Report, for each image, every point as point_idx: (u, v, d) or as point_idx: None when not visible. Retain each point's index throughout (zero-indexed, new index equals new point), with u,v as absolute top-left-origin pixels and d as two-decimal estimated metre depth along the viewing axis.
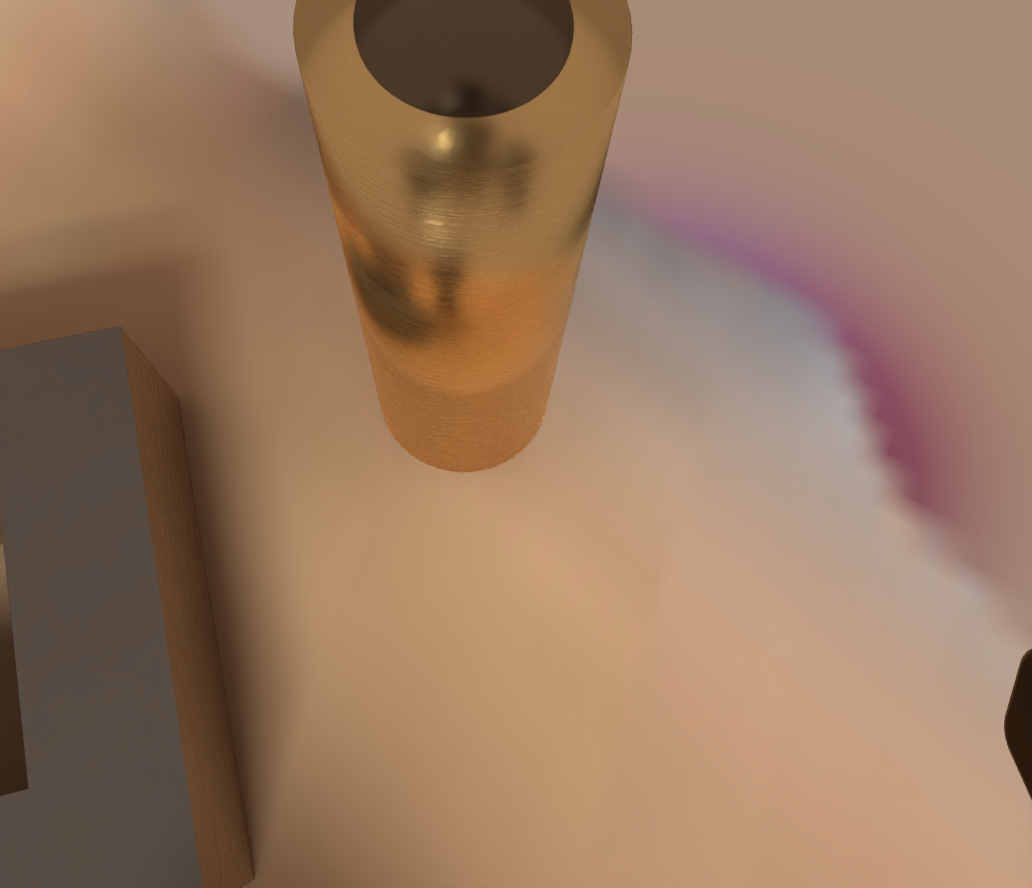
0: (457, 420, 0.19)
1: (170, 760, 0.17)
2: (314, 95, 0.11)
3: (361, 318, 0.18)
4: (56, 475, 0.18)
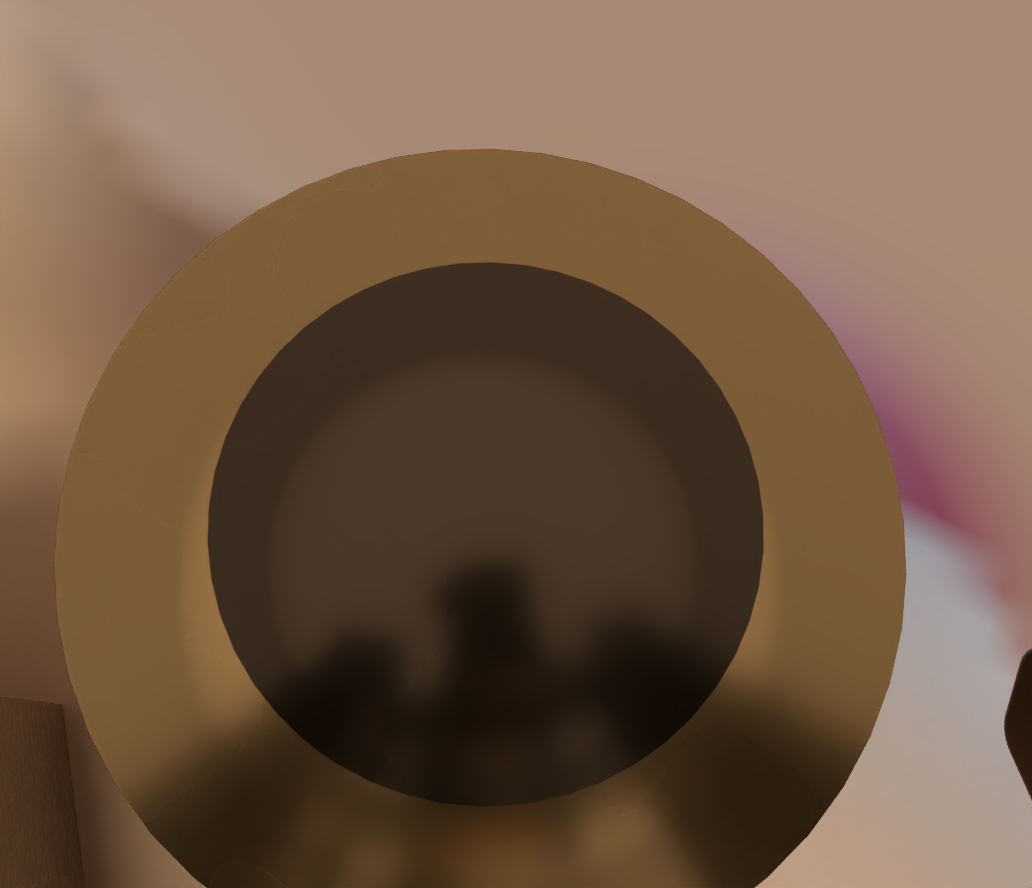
0: None
1: None
2: (100, 751, 0.04)
3: None
4: None
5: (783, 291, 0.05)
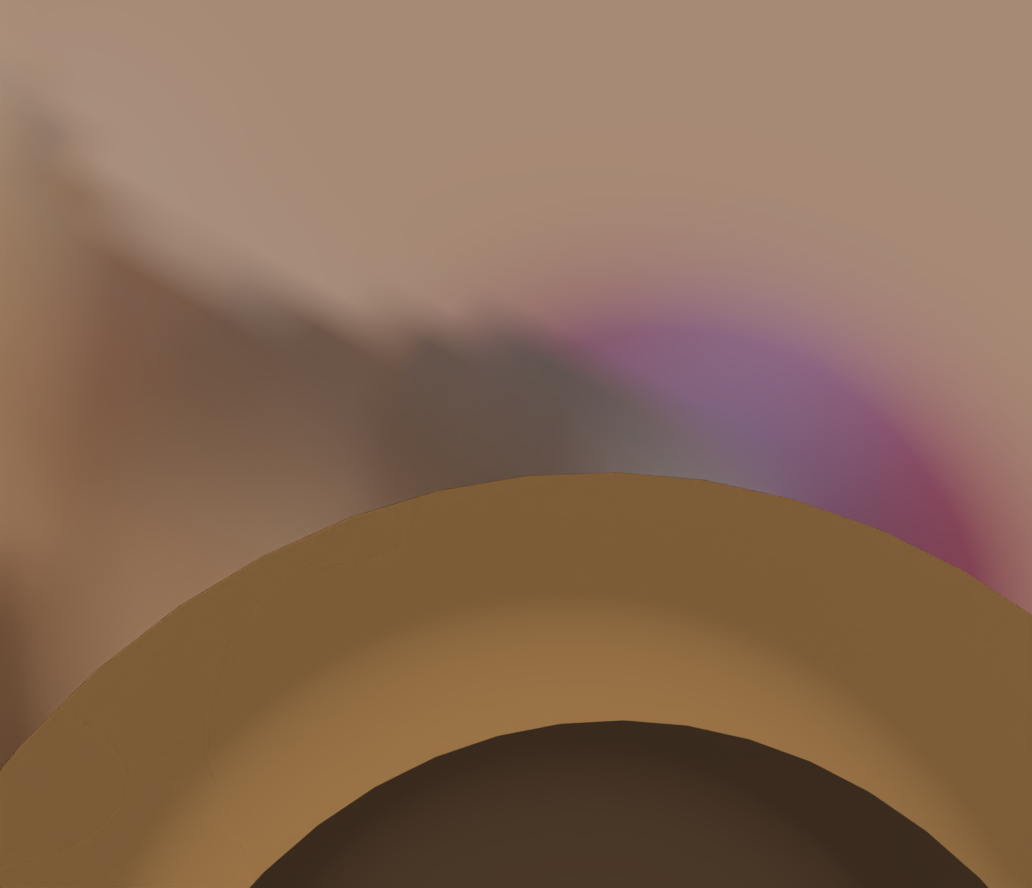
0: None
1: None
2: None
3: None
4: None
5: None
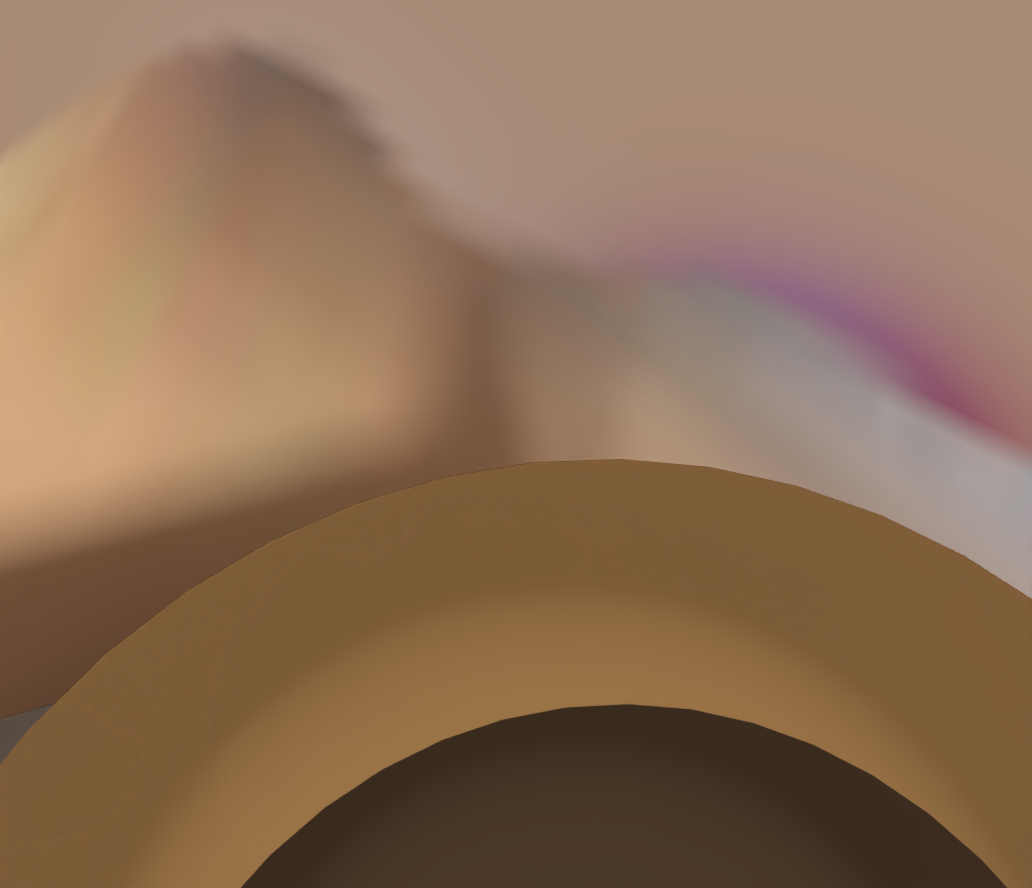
0: None
1: None
2: None
3: None
4: None
5: None
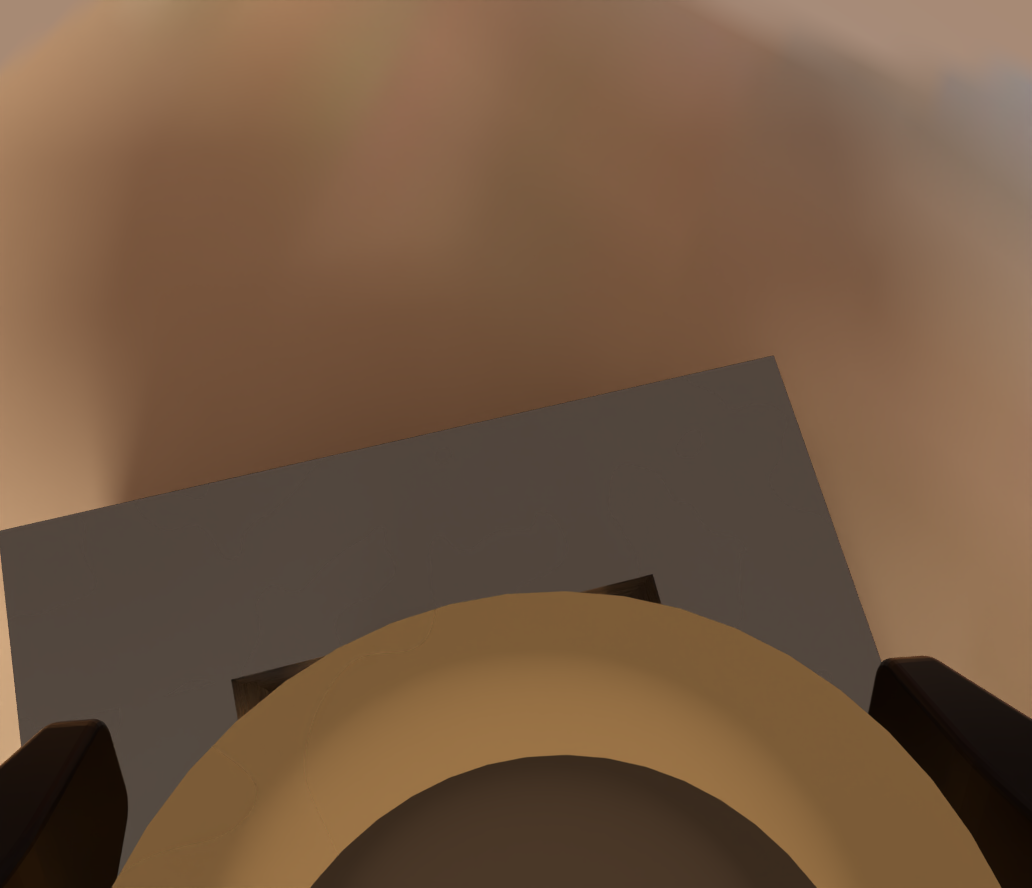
0: None
1: None
2: None
3: None
4: (731, 566, 0.13)
5: (911, 779, 0.04)
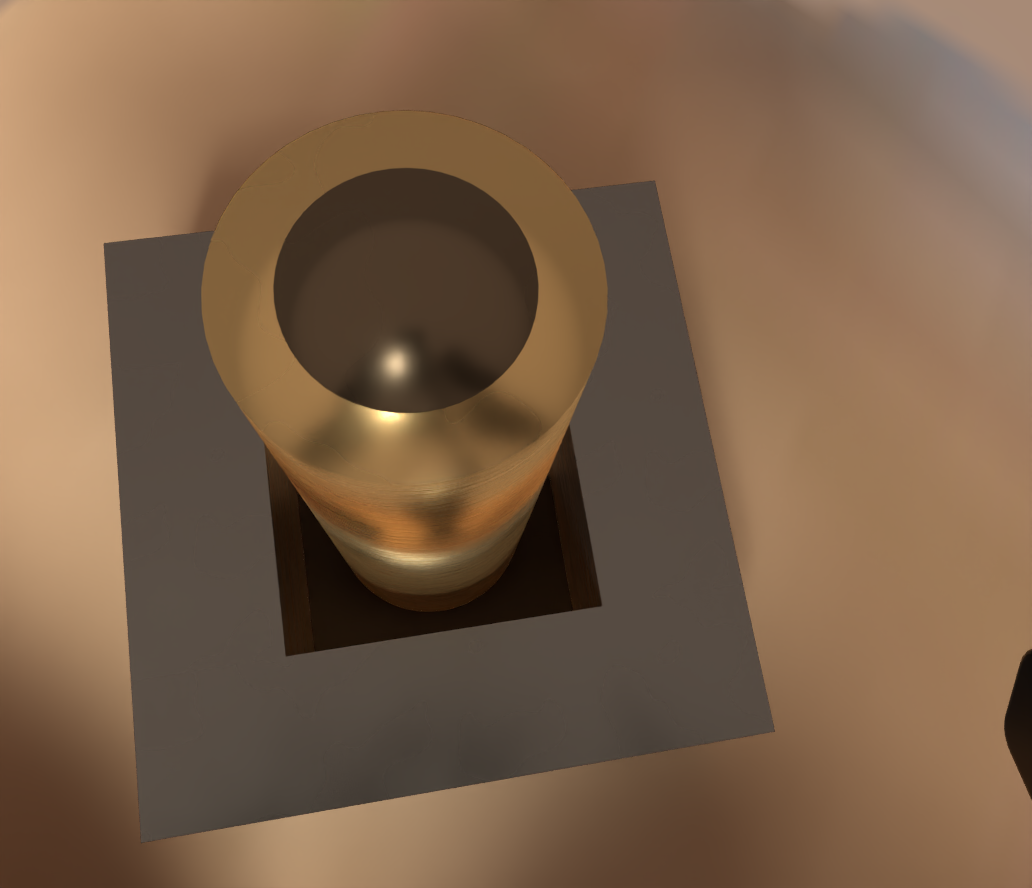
0: (408, 591, 0.18)
1: (732, 592, 0.18)
2: None
3: None
4: None
5: (567, 198, 0.10)
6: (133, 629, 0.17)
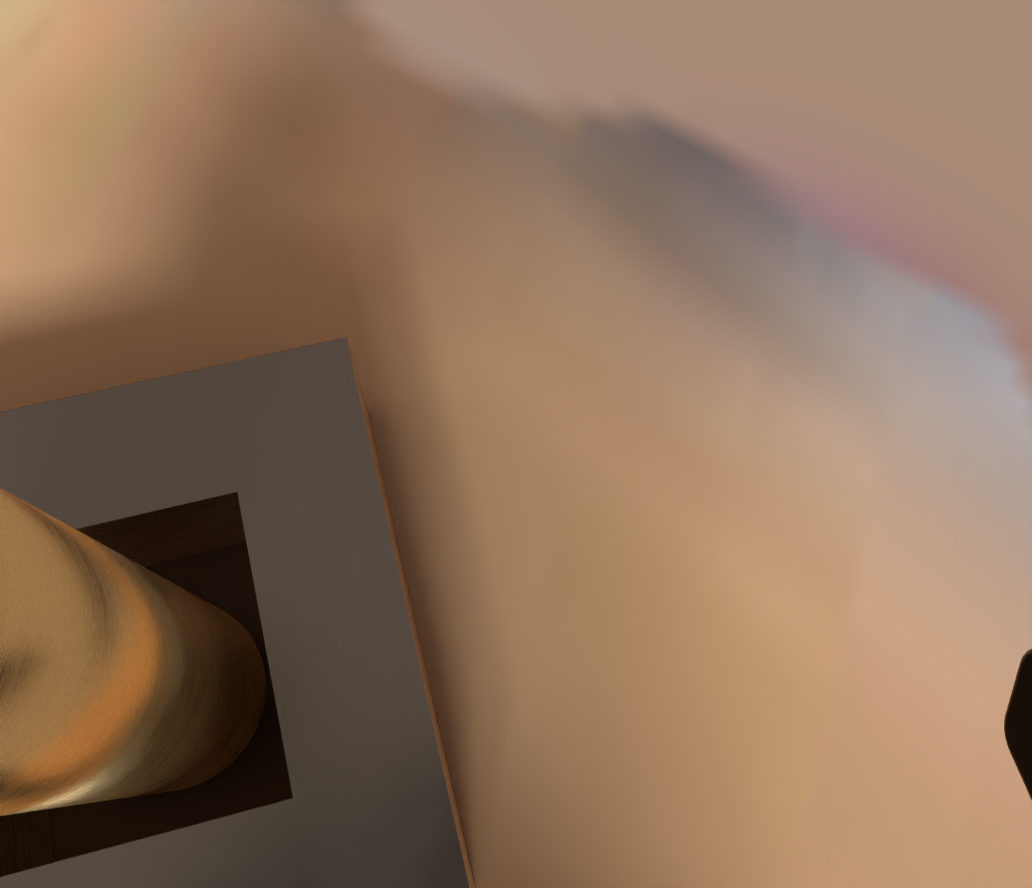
0: None
1: (429, 769, 0.17)
2: None
3: None
4: (295, 486, 0.19)
5: None
6: None
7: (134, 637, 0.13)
